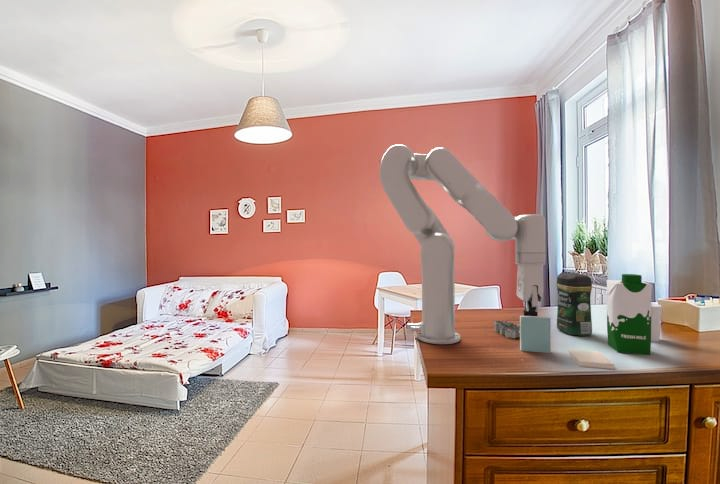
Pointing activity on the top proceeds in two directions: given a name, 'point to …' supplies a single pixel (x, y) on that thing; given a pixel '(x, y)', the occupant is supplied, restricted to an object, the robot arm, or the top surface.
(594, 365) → the ochre tile
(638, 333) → the milk carton
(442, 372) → the top surface
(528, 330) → the teal tile
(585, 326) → the coffee jar
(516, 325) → the egg carton
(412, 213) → the robot arm
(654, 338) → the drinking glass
